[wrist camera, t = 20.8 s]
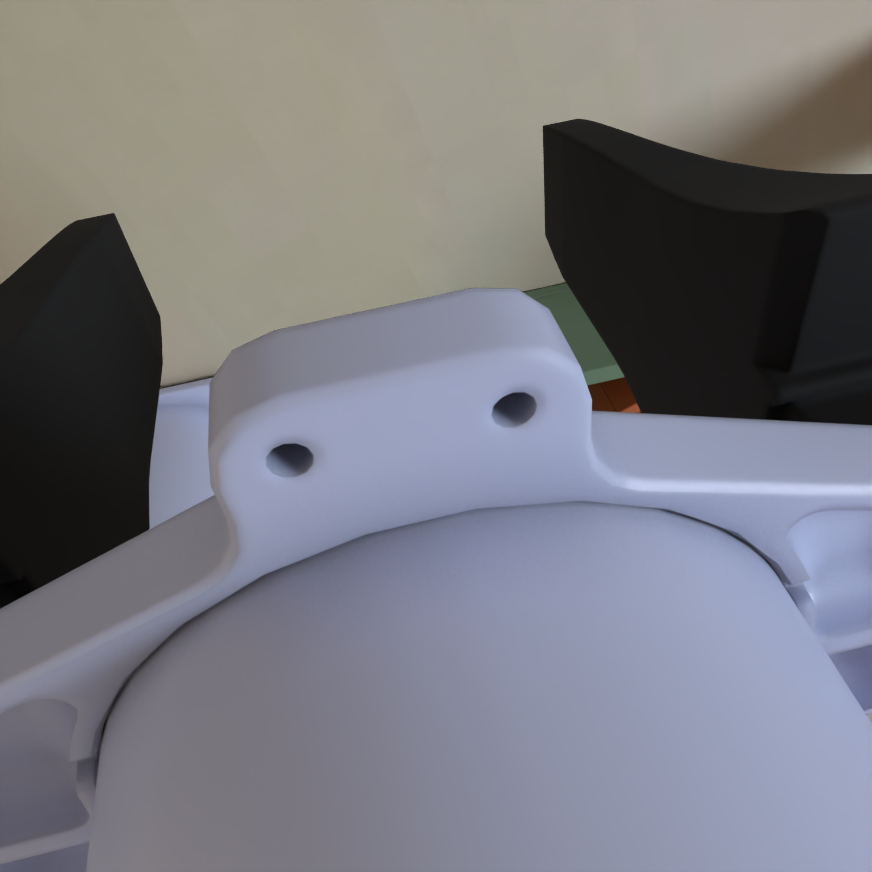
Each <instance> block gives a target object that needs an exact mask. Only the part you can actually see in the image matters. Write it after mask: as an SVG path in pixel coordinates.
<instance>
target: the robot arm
mask: <svg viewBox="0 0 872 872" xmlns="http://www.w3.org/2000/svg"><path fill="white" fill-rule="evenodd" d="M543 151H544V195H545V235H546V238H547V240H548V243H549V245H550V248H551V250H552V253H553V255H554V258H555V260H556V262H557V265H558V267H559V269H560V272H561V274H562V276H563V278H564V280H565V281H566V283H567V285H568V286H569V288H570V289H571V291H572V293H573V294H574V296H575V297H576V299H577V301H578V302H579V304H580V305H581V307H582V309H583V310H584V312H585V313H586V315H587V316H588V318H589V320H590V321H591V323H592V324H593V326H594V327H595V329H596V330H597V332H598V334H599V335H600V337H601V338H602V340H603V341H604V343H605V345H606V346H607V348H608V349H609V351H610V352H611V354H612V356H613V357H614V359H615V361H616V362H617V364H618V366H619V368H620V369H621V371H622V373H623V375H624V377H625V379H626V381H627V383H628V385H629V387H630V389H631V392H632V394H633V396H634V398H635V400H636V402H637V405H638V407H639V409H640V411H641V413H627V412H608V411H592V398H591V395H590V392H589V389H588V386H587V384H586V381H585V378H584V375H583V372H582V369H581V366H580V365H579V363H578V361H577V359H576V357H575V355H574V354H573V352H572V350H571V348H570V346H569V345H568V343H567V341H566V339H565V337H564V335H563V334H562V332H561V330H560V328H559V326H558V324H557V323H556V321H555V319H554V317H553V315H552V313H551V312H550V310H549V309H548V308H547V307H545V306H544V305H542V304H540V303H539V302H537V301H536V300H534V299H532V298H531V297H529V296H528V295H526V294H524V293H523V292H521V291H520V290H518V289H506V288H469V289H464V290H460V291H455V292H450V293H446V294H441V295H437V296H432V297H427V298H423V299H418V300H413V301H409V302H404V303H399V304H395V305H390V306H385V307H381V308H376V309H371V310H367V311H362V312H357V313H353V314H348V315H343V316H339V317H334V318H330V319H325V320H320V321H316V322H311V323H306V324H302V325H297V326H292V327H288V328H283V329H278V330H274V331H272V332H270V333H268V334H266V335H263V336H261V337H259V338H257V339H255V340H253V341H251V342H248V343H246V344H244V345H242V346H240V347H238V348H236V349H233V350H232V351H231V353H230V354H229V355H228V357H227V358H226V360H225V361H224V363H223V364H222V366H221V367H220V368H219V370H218V371H217V373H216V374H215V376H214V377H213V378H208V379H203V380H199V381H194V382H190V383H185V384H180V385H176V386H171V387H167V388H162V389H160V383H161V374H162V364H163V360H162V336H161V321H160V315H159V313H158V311H157V308H156V306H155V304H154V302H153V299H152V297H151V295H150V293H149V290H148V288H147V286H146V284H145V281H144V279H143V277H142V275H141V272H140V270H139V268H138V266H137V263H136V261H135V259H134V257H133V254H132V252H131V250H130V248H129V245H128V243H127V241H126V239H125V236H124V234H123V232H122V230H121V227H120V225H119V223H118V221H117V218H116V216H115V214H114V213H111V214H106V215H102V216H97V217H92V218H87V219H82V220H77V221H75V222H73V223H72V224H70V225H68V226H67V227H66V228H64V229H63V230H62V231H60V232H59V233H58V234H57V235H56V236H55V237H53V238H52V239H51V240H50V241H49V242H48V243H47V244H45V245H44V246H43V247H42V248H41V249H40V250H39V251H38V252H37V253H36V254H34V255H33V256H32V257H31V258H30V259H29V260H28V261H27V262H26V263H24V264H23V265H22V266H21V267H20V268H19V269H18V270H17V271H16V272H14V273H13V274H12V275H11V276H10V277H9V278H8V279H6V280H5V281H4V282H3V283H2V284H0V872H872V723H871V722H870V720H869V719H868V717H867V715H868V714H871V713H872V174H823V173H810V172H797V171H784V170H776V169H767V168H760V167H755V166H749V165H743V164H737V163H731V162H726V161H722V160H717V159H713V158H709V157H705V156H701V155H697V154H694V153H690V152H686V151H683V150H679V149H676V148H673V147H669V146H666V145H663V144H660V143H657V142H654V141H651V140H648V139H645V138H642V137H639V136H636V135H633V134H630V133H628V132H625V131H622V130H619V129H616V128H613V127H610V126H607V125H604V124H600V123H597V122H593V121H589V120H584V119H574V120H569V121H565V122H560V123H555V124H550V125H545V126H543Z"/></svg>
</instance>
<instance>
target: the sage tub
mask: <svg viewBox="0 0 872 872" xmlns="http://www.w3.org/2000/svg"><path fill="white" fill-rule="evenodd" d="M523 293H524V294H526V295H528V296H529V297H531V298H532V299H534V300H536V301H537V302H539V303H540V304H542V305H544V306H545V307H547V308H548V309H549V310H550V312H551V313H552V315H553V317H554V319H555V321H556V323H557V324H558V326H559V328H560V330H561V332H562V334H563V335H564V337H565V339H566V341H567V343H568V345H569V346H570V348H571V350H572V352H573V354H574V355H575V357H576V359H577V361H578V363H579V365H580V366H581V369H582V372H583V375H584V378H585V381H586V384H587V385H592V384H596V383H601V382H605V381H610V380H614V379H619V378H623V377H624V375H623V373H622V371H621V369H620V368H619V366H618V364H617V362H616V361H615V359H614V357H613V356H612V354H611V352H610V351H609V349H608V348H607V346H606V345H605V343H604V341H603V340H602V338H601V337H600V335H599V334H598V332H597V330H596V329H595V327H594V326H593V324H592V323H591V321H590V320H589V318H588V316H587V315H586V313H585V312H584V310H583V309H582V307H581V305H580V304H579V302H578V301H577V299H576V297H575V296H574V294H573V293H572V291H571V289H570V288H569V286H568V285H567V283H564V284H559V285H554V286H550V287H545V288H541V289H536V290H531V291H527V292H523Z"/></svg>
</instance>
